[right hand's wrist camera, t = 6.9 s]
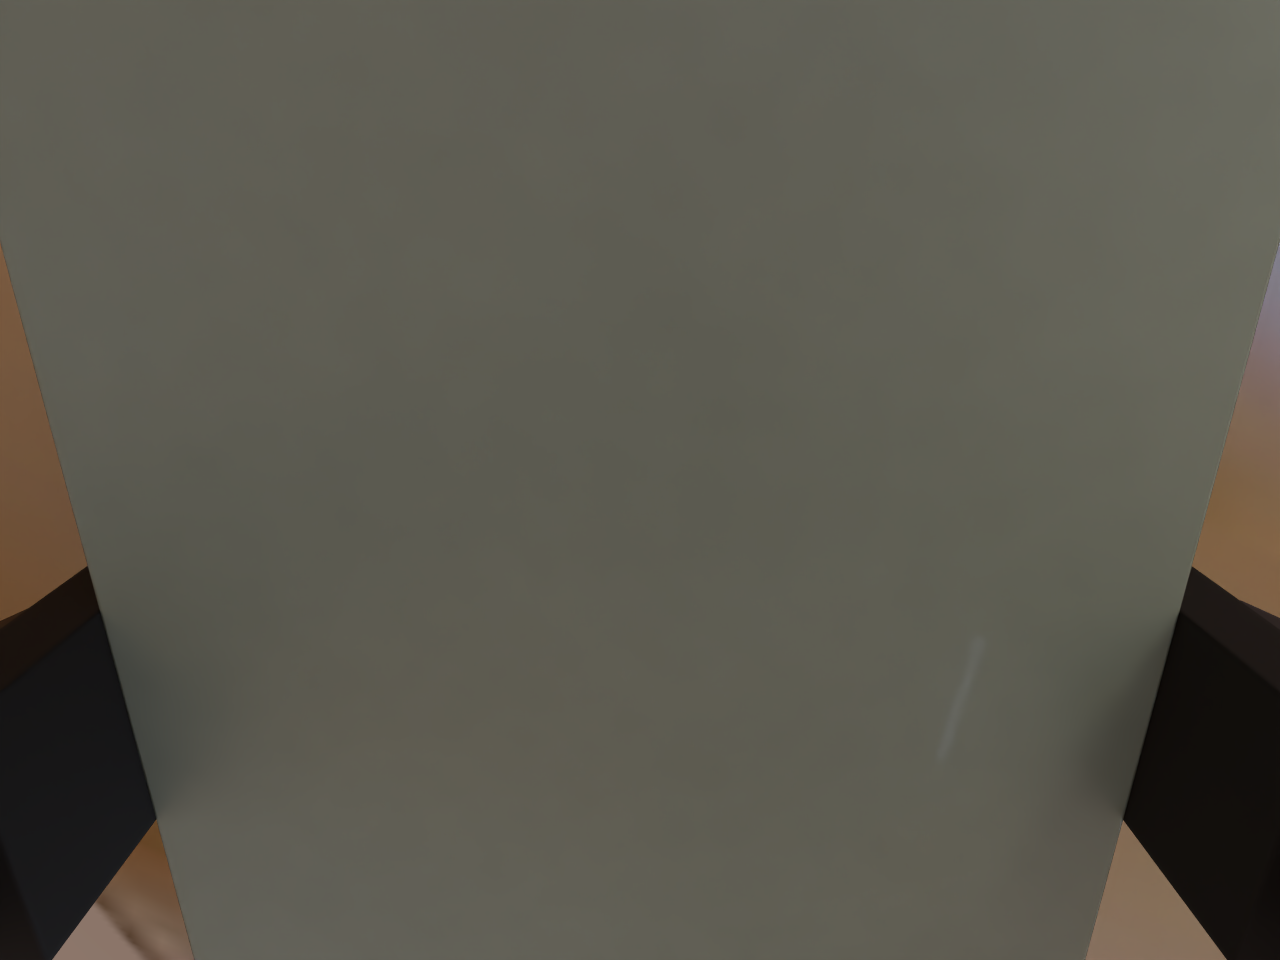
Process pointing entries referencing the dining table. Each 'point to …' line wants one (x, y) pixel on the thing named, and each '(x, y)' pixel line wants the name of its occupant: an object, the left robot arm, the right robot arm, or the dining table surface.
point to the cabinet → (639, 449)
